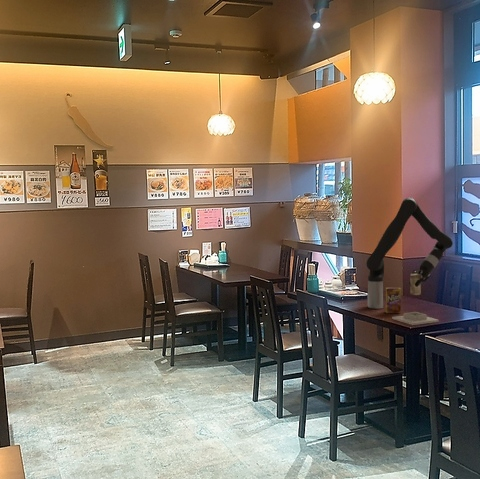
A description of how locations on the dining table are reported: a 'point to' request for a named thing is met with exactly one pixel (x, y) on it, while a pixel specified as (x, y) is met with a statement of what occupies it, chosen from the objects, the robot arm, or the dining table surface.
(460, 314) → the dining table surface
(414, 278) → the beige capped cylinder
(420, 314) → the holder
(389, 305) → the candy box
